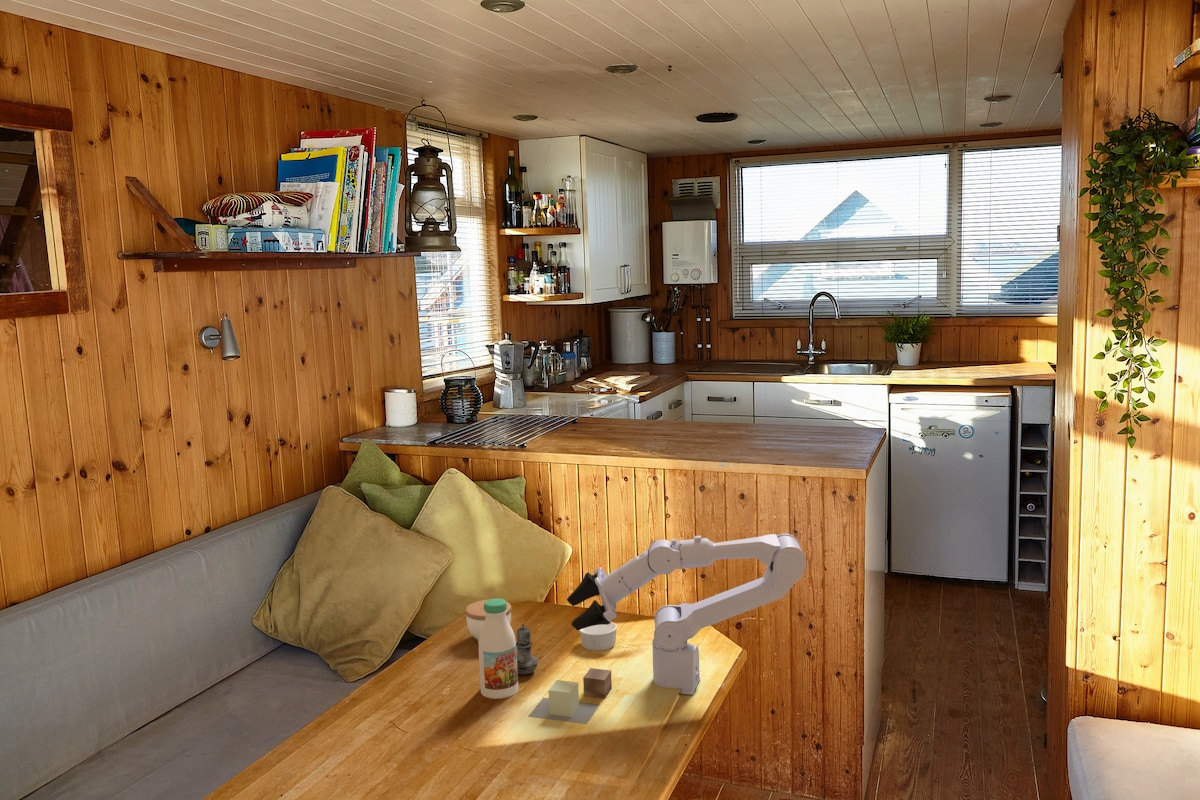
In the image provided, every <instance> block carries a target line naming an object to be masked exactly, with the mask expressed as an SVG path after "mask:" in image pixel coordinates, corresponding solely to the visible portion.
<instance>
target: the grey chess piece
mask: <svg viewBox="0 0 1200 800" xmlns="http://www.w3.org/2000/svg"><path fill="white" fill-rule="evenodd" d="M520 626H521V627H518V629H517V630H516V651H517V670H518V675H530V674H533V672H534V671H535V670H536V668H537V666H538V663H539V657H537V656H535V655H533V654H532V646H533V642H532V641H531V630H530V628H529V627H526V626H525V623H522V624H521V625H520Z"/></svg>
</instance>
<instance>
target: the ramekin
mask: <svg viewBox="0 0 1200 800" xmlns="http://www.w3.org/2000/svg"><path fill="white" fill-rule="evenodd" d="M610 622H611V623H610V624H608V625H594V626H590V627H587V628H583V629H580V630H578V631H579V632H578V633H579V636H580V643H581V644H580V645H581V646H582V647H583V648H584V649H586V650H587V651H593V652H594V651H595V652H602V651H606V650H609V649H612V648H613V647H615V645H616V641H617V629H618V625H617V623H616V622H613V621H612V620H611V621H610Z"/></svg>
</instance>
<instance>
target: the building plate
mask: <svg viewBox="0 0 1200 800" xmlns="http://www.w3.org/2000/svg"><path fill="white" fill-rule="evenodd" d="M600 705H601V704H598V703H590V702H584V701H579V707H578V708H577V710H576V711H575V713H574V714H573V715H572V717H567V716H559V715H551V714H549V697H542V698H541V700H540V701H539V702H538V703H537V704H536V706H535V707H534V709H533V710H531V712H530V713H529V715H528V718H536V719H537V718H538V719H545V720H554V721H561V722H569V723H577V724H583V725H587V724H588V723H589V722H590V721H591V719H592V717H593V716H594V714H595V712H596V711H597V710H598V709H599V707H600Z"/></svg>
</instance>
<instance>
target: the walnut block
mask: <svg viewBox="0 0 1200 800" xmlns="http://www.w3.org/2000/svg"><path fill="white" fill-rule="evenodd" d="M582 680H583V681H582V682H583V697H588V698H589V697H591V698H598V699H606V698H607V696H608V695H609V693H610V692H611V690H612V689H613V688H612V686H613V684H612V683H613V682H612V681H613V680H612V670H609V669H602V668H601V669H600V668H592V667H590V668H589V669H588V670H587V672H586V673H585V675H584V676H583V677H582Z"/></svg>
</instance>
